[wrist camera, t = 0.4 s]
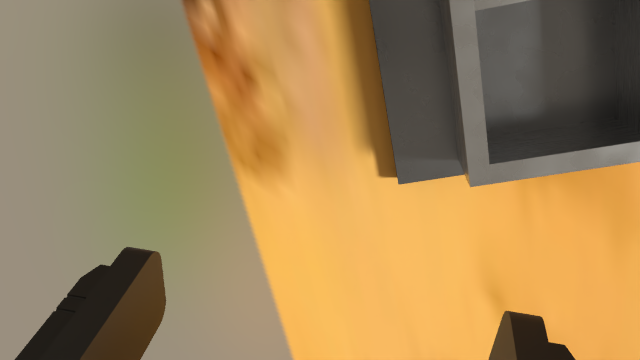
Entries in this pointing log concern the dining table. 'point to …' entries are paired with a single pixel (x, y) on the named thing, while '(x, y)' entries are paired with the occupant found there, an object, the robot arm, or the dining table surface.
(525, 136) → the steel sleeve
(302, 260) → the dining table surface
